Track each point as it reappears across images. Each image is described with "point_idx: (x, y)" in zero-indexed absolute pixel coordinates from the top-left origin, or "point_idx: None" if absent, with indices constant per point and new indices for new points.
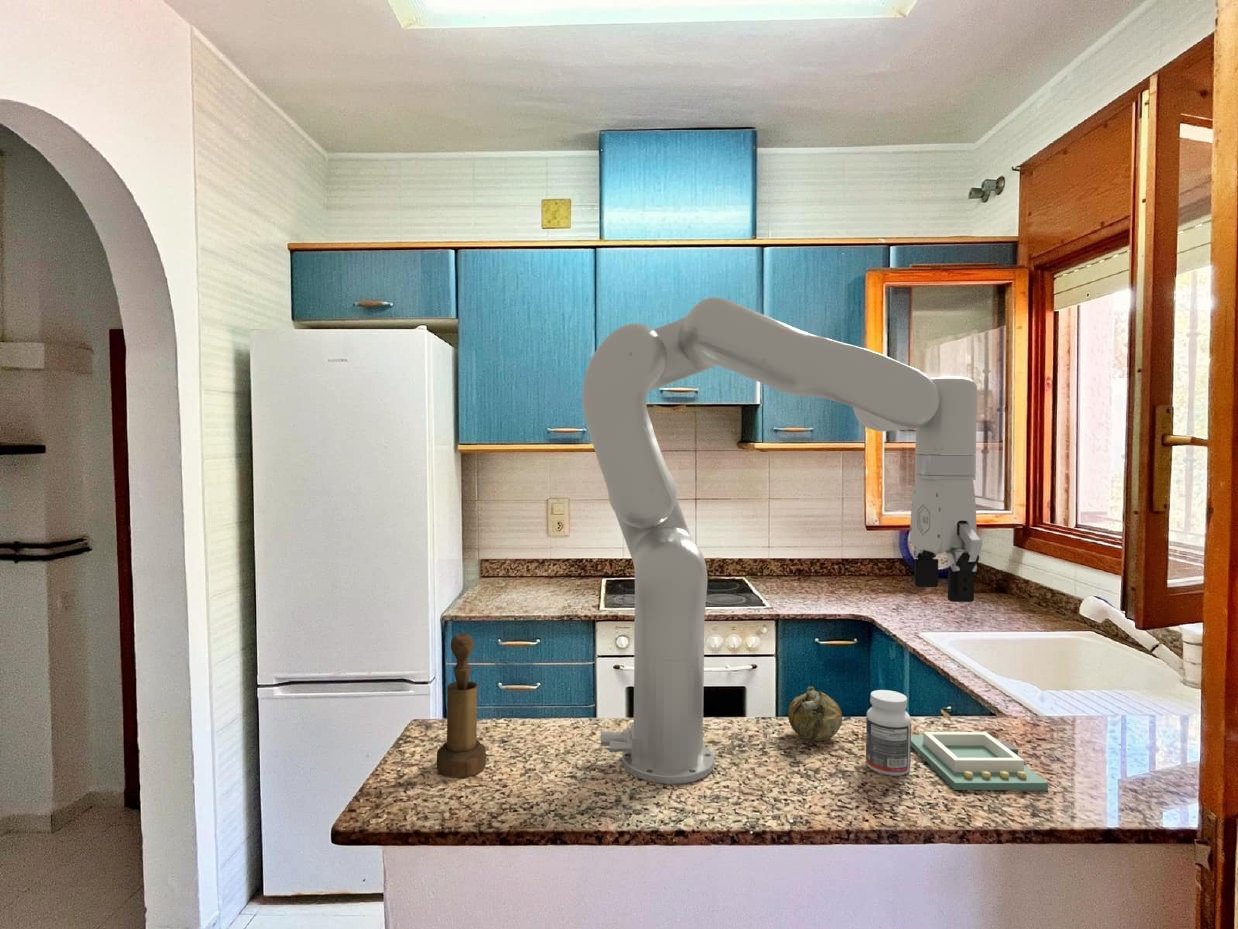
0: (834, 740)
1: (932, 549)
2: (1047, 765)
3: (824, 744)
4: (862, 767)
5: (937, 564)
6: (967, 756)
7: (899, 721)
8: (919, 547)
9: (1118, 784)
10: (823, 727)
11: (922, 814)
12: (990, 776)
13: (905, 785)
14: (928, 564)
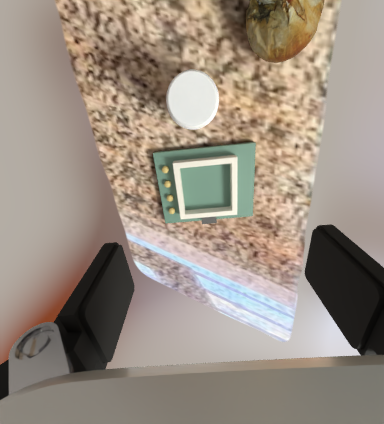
0: None
1: (83, 393)
2: (208, 238)
3: None
4: None
5: (345, 334)
6: (207, 184)
7: (168, 107)
8: (321, 364)
9: (183, 264)
10: (246, 23)
11: (104, 106)
12: (169, 187)
13: (157, 108)
14: (354, 311)
